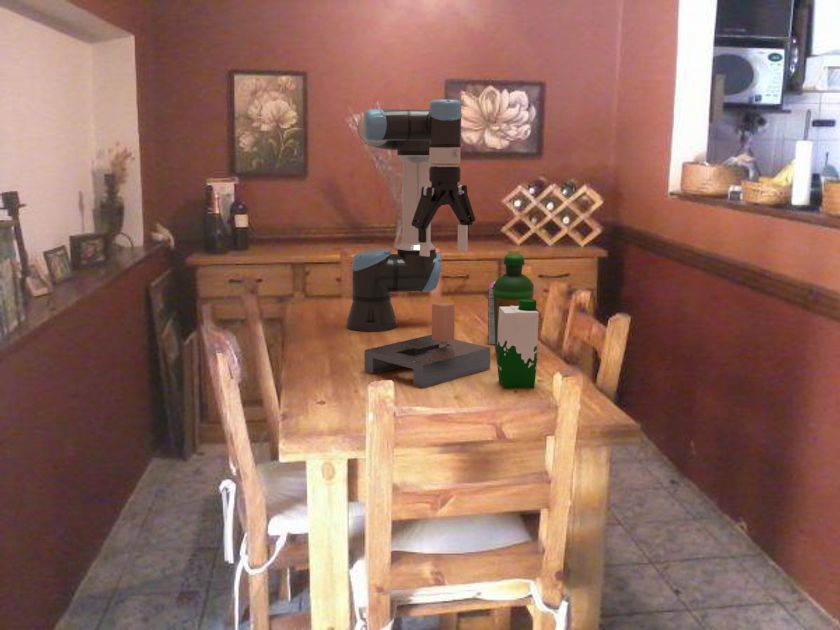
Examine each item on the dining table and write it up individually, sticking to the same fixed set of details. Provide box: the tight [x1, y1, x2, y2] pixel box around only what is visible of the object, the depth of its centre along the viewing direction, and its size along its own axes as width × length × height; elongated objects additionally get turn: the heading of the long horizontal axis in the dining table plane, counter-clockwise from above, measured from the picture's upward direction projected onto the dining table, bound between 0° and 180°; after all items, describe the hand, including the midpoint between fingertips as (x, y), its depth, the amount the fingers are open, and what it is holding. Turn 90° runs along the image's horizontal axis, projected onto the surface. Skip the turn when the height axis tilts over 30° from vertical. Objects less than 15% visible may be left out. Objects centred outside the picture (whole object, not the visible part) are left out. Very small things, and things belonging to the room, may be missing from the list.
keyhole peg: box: [431, 301, 456, 348], centre depth 211 cm, size 5×5×16 cm
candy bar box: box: [487, 280, 496, 346], centre depth 238 cm, size 11×5×16 cm, turn 168°
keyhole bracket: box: [364, 334, 491, 389], centre depth 208 cm, size 20×24×6 cm
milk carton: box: [496, 298, 540, 389], centre depth 195 cm, size 9×9×20 cm
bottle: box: [493, 249, 535, 355], centre depth 221 cm, size 11×11×28 cm
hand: (444, 253), depth 207 cm, fingers open, 13 cm apart
